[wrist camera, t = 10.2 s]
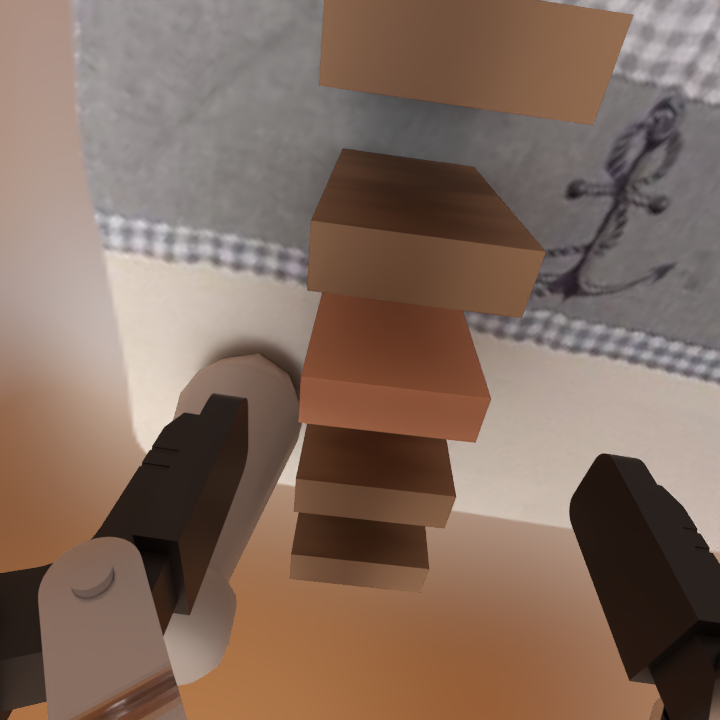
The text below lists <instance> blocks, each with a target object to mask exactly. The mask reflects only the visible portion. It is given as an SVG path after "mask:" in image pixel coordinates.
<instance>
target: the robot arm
mask: <svg viewBox="0 0 720 720" xmlns="http://www.w3.org/2000/svg"><path fill="white" fill-rule="evenodd" d="M247 455H248V400H247V398H243V397H237V396H230V395H224V394H217V393H213V394H211V396H210V397H209V399H208V400H207V402H206V404H205V406H204V407H203V409H202V411H201V413H200V415H198V414H192V413H185V412H184V413H183V414H181V415H180V416H179V417H177V418H176V419H175V420H173V421H172V422H171V423H169V424H168V425H167V426H165V427H164V429H163V430H162V432H161V433H160V435H159V436H158V438H157V440H156V441H155V443H154V444H153V446H152V450H150V451H149V452H148V454H147V455H146V457H145V459H144V460H143V462H142V466H139V468H138V470H137V471H136V473H135V474H134V476H133V477H132V479H131V480H130V482H129V484H128V485H127V487H126V488H125V490H124V491H123V493H122V495H121V496H120V498H119V500H118V501H117V502H116V504H115V506H114V507H113V509H112V510H111V512H110V514H109V515H108V517H107V518H106V520H105V521H104V523H103V525H102V526H101V528H100V529H99V530H98V532H97V533H96V534H95V535H94V537H93V538H92V539H91V540H89V541H85V542H83V543H81V544H79V545H77V546H75V547H73V548H71V549H70V550H68V551H67V552H66V553H64V554H63V555H61V557H59V558H58V559H57V560H56V561H55V562H54V563H52V564H48V565H46V566H41V567H36V568H31V569H25V570H18V571H12V572H6V573H0V720H7V719H8V717H9V716H10V714H11V712H12V710H13V709H17V708H21V707H25V706H29V705H34V704H38V703H42V702H46V701H47V710H48V720H187V718H186V715H185V711H184V708H183V704H182V700H181V697H180V694H179V690H178V686H177V683H176V680H175V677H174V674H173V670H172V667H171V663H170V659H169V656H168V652H167V649H166V645H165V641H164V638H163V637H164V634H165V632H166V629H167V627H168V624H169V622H170V619H171V617H172V614H173V613H176V614H183V615H190V614H191V611H192V608H193V606H194V603H195V600H196V598H197V595H198V592H199V590H200V587H201V584H202V582H203V579H204V576H205V574H206V571H207V568H208V566H209V563H210V560H211V558H212V555H213V552H214V550H215V547H216V544H217V542H218V539H219V536H220V534H221V531H222V528H223V526H224V523H225V520H226V518H227V515H228V512H229V510H230V507H231V504H232V502H233V499H234V496H235V494H236V491H237V489H238V486H239V483H240V481H241V478H242V475H243V472H244V469H245V465H246V461H247ZM569 514H570V521H571V524H572V527H573V530H574V533H575V535H576V538H577V541H578V543H579V546H580V549H581V552H582V554H583V557H584V560H585V562H586V565H587V567H588V570H589V573H590V576H591V578H592V581H593V584H594V587H595V589H596V592H597V595H598V597H599V600H600V603H601V605H602V608H603V611H604V613H605V616H606V619H607V622H608V624H609V627H610V630H611V632H612V635H613V638H614V640H615V643H616V646H617V648H618V651H619V654H620V657H621V659H622V662H623V665H624V667H625V670H626V673H627V675H628V678H629V681H635V682H641V683H648V684H655V685H656V687H657V689H658V692H659V694H660V698H658V699H657V700H656V701H655V703H654V705H653V707H652V711H651V715H650V719H649V720H720V564H719V562H718V561H717V559H716V558H715V556H714V554H713V553H710V552H709V549H710V548H709V546H708V545H707V543H706V542H705V540H704V539H703V537H702V535H701V534H698V533H697V528H696V526H695V524H694V523H693V521H692V520H691V518H690V517H689V515H688V513H687V512H686V510H685V509H684V507H683V506H682V505H681V504H680V503H679V502H678V501H677V500H676V499H675V498H674V497H673V496H672V495H671V494H670V493H669V492H668V491H667V490H666V489H665V488H663V487H662V486H660V485H657V484H656V482H655V480H654V479H653V477H652V475H651V474H650V472H649V470H648V469H647V467H646V465H645V464H644V463H643V462H642V461H641V460H639V459H637V458H631V457H624V456H618V455H611V454H600V455H599V456H598V457H597V458H596V459H595V461H594V462H593V464H592V465H591V467H590V469H589V470H588V472H587V473H586V475H585V477H584V478H583V480H582V481H581V483H580V485H579V486H578V488H577V490H576V491H575V493H574V494H573V496H572V499H571V502H570V509H569Z"/></svg>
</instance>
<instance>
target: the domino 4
mask: <svg viewBox="0 0 720 720" xmlns="http://www.w3.org/2000/svg"><path fill="white" fill-rule="evenodd" d="M455 498H456V493H455V488H454V482H453V476H452V470H451V464H450V458H449V453H448V447H447V441H446V439H439V438H430V437H421V436H413V435H404V434H395V433H386V432H377V431H368V430H360V429H351V428H342V427H333V426H324V425H316V424H307V427H306V432H305V437H304V442H303V447H302V452H301V457H300V461H299V466H298V471H297V476H296V487H295V503H294V512H301V513H310V514H319V515H328V516H337V517H346V518H355V519H364V520H373V521H382V522H391V523H400V524H409V525H418V526H427V527H436V528H445V526H446V523H447V520H448V517H449V515H450V512H451V509H452V507H453V504H454V501H455Z"/></svg>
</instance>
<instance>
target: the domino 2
mask: <svg viewBox="0 0 720 720" xmlns="http://www.w3.org/2000/svg"><path fill="white" fill-rule="evenodd" d="M545 254H546V252H545V250H544V249H543V248H542V247H541V246H540V244H539V243H538V242H537V241H536V240H535V239H534V237H533V236H532V235H531V234H530V233H529V231H528V230H527V229H526V228H525V227H524V226H523V224H522V223H521V222H520V221H519V220H518V218H517V217H516V216H515V215H514V214H513V213H512V211H511V210H510V209H509V208H508V207H507V206H506V204H505V203H504V202H503V201H502V200H501V198H500V197H499V196H498V195H497V194H496V193H495V191H494V190H493V189H492V188H491V187H490V185H489V184H488V183H487V182H486V181H485V180H484V178H483V177H482V176H481V175H480V174H479V172H478V171H477V170H476V169H475V168H474V167H470V166H463V165H456V164H448V163H441V162H434V161H427V160H420V159H413V158H406V157H398V156H391V155H384V154H377V153H370V152H363V151H356V150H348V149H342V152H341V154H340V156H339V158H338V161H337V163H336V165H335V167H334V170H333V172H332V174H331V177H330V179H329V181H328V183H327V186H326V188H325V190H324V192H323V195H322V197H321V199H320V202H319V204H318V206H317V208H316V211H315V213H314V215H313V218H312V220H311V231H310V248H309V264H308V281H307V290H308V291H315V292H323V293H331V294H339V295H346V296H354V297H362V298H370V299H377V300H385V301H393V302H401V303H408V304H416V305H424V306H432V307H439V308H447V309H455V310H463V311H470V312H478V313H486V314H494V315H502V316H509V317H517V318H522V316H523V313H524V311H525V308H526V305H527V302H528V300H529V297H530V294H531V292H532V289H533V286H534V283H535V281H536V278H537V275H538V273H539V270H540V267H541V264H542V262H543V259H544V256H545Z"/></svg>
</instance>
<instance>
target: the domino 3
mask: <svg viewBox="0 0 720 720" xmlns="http://www.w3.org/2000/svg"><path fill="white" fill-rule="evenodd" d="M490 400H491V397H490V394H489V391H488V388H487V384H486V381H485V378H484V375H483V372H482V369H481V366H480V363H479V360H478V356H477V353H476V350H475V347H474V344H473V341H472V338H471V335H470V332H469V328H468V325H467V322H466V319H465V316H464V313H463V310H455V309H447V308H439V307H432V306H424V305H416V304H408V303H401V302H393V301H385V300H377V299H370V298H362V297H354V296H346V295H339V294H331V293H323V292H322V296H321V300H320V304H319V307H318V311H317V315H316V319H315V323H314V327H313V331H312V335H311V339H310V343H309V347H308V351H307V355H306V358H305V362H304V366H303V370H302V374H301V384H300V404H299V423H307V424H316V425H324V426H333V427H342V428H351V429H360V430H368V431H377V432H386V433H395V434H404V435H413V436H421V437H430V438H439V439H448V440H457V441H466V442H474V443H475V442H476V439H477V437H478V434H479V431H480V428H481V425H482V423H483V420H484V417H485V414H486V412H487V409H488V406H489V403H490Z"/></svg>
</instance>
